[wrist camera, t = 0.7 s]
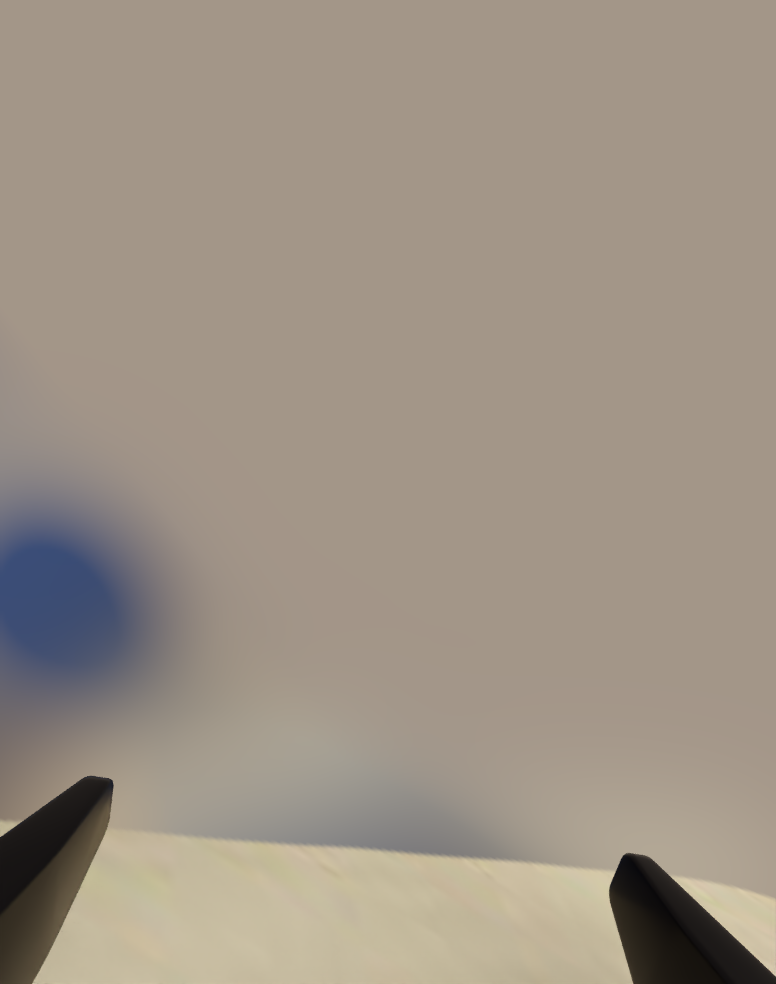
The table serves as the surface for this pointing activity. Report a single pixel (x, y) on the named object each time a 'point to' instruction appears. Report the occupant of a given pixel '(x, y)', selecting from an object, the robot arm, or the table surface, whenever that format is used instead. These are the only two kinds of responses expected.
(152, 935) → the table surface
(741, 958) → the robot arm
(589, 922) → the table surface
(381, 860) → the table surface
